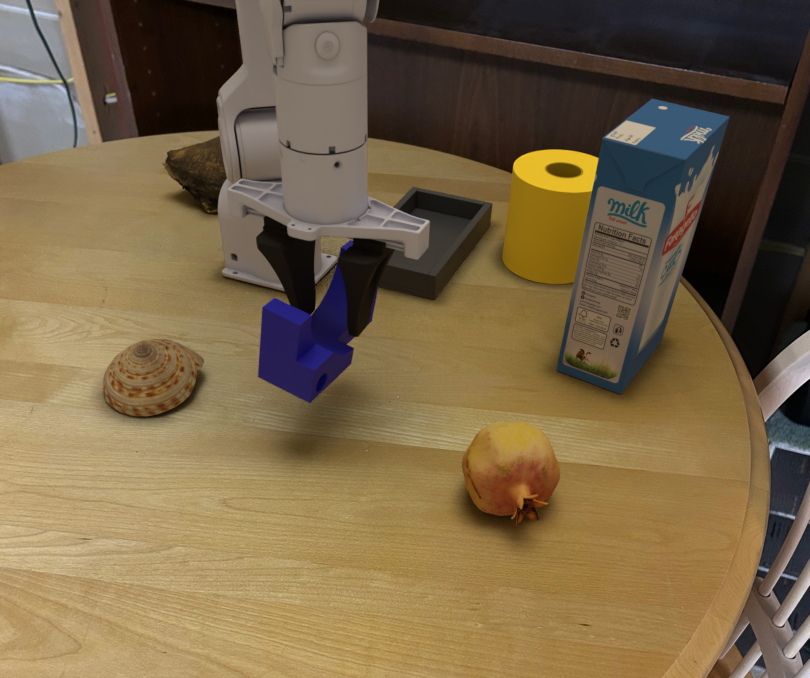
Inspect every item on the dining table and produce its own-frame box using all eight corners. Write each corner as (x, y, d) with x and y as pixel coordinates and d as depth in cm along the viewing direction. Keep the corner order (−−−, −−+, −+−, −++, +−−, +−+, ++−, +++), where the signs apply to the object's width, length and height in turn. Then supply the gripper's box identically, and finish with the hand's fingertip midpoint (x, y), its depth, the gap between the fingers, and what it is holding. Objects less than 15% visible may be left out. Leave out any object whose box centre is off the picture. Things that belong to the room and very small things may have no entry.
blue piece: (310, 403, 58) (319, 334, 54) (257, 377, 59) (262, 307, 54) (387, 328, 66) (401, 263, 61) (340, 306, 66) (350, 239, 62)
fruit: (440, 403, 59) (475, 494, 52) (530, 375, 59) (577, 462, 52) (456, 469, 64) (490, 559, 57) (539, 443, 64) (583, 531, 57)
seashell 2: (297, 165, 99) (297, 111, 93) (317, 213, 95) (319, 159, 89) (162, 180, 95) (154, 124, 89) (178, 230, 91) (170, 175, 85)
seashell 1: (221, 342, 70) (172, 357, 63) (217, 405, 72) (169, 426, 65) (137, 323, 71) (80, 336, 64) (137, 385, 74) (81, 404, 67)
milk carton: (620, 395, 70) (685, 159, 55) (555, 370, 72) (602, 137, 57) (661, 342, 76) (730, 115, 61) (600, 321, 78) (652, 98, 63)
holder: (346, 278, 82) (346, 254, 80) (412, 208, 93) (412, 186, 91) (434, 300, 80) (435, 276, 78) (490, 225, 91) (492, 202, 89)
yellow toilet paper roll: (607, 250, 88) (626, 161, 81) (580, 293, 81) (599, 201, 74) (520, 229, 90) (532, 142, 83) (488, 269, 84) (498, 178, 77)
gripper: (191, 138, 51) (221, 326, 61) (402, 183, 47) (397, 374, 57) (248, 102, 55) (267, 282, 65) (445, 140, 52) (434, 324, 62)
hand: (331, 322), depth 61 cm, fingers closed on blue piece, 4 cm apart
